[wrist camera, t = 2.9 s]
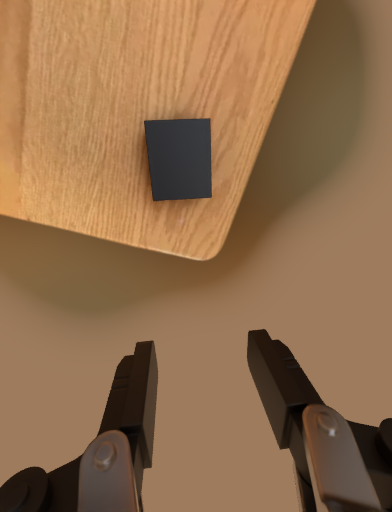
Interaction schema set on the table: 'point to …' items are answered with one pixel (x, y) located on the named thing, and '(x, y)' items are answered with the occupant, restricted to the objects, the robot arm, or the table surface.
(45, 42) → the table surface
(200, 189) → the storage box
